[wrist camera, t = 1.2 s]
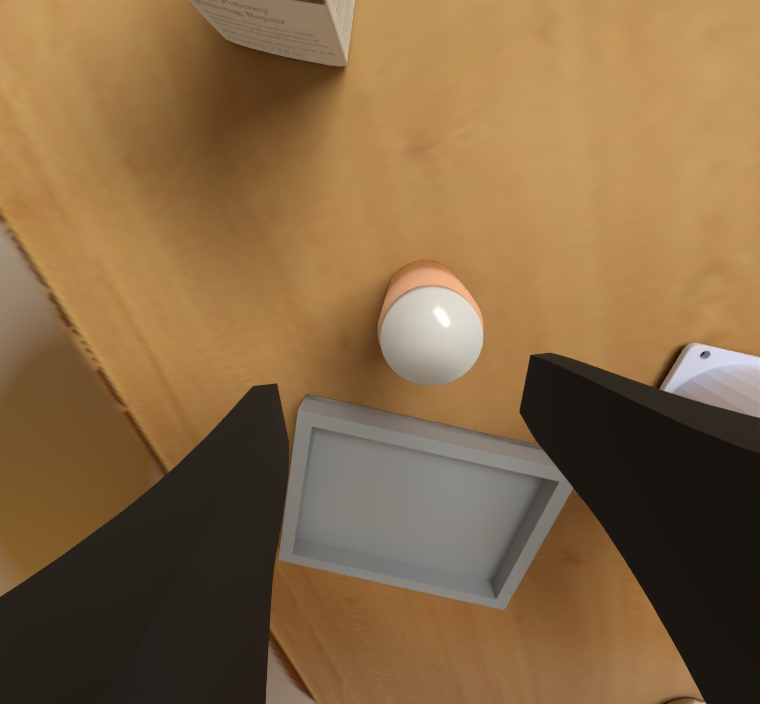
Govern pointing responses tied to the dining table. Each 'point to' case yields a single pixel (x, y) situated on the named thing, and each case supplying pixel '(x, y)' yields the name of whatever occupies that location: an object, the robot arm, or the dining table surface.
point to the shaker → (429, 325)
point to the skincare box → (285, 26)
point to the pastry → (686, 701)
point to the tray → (416, 502)
